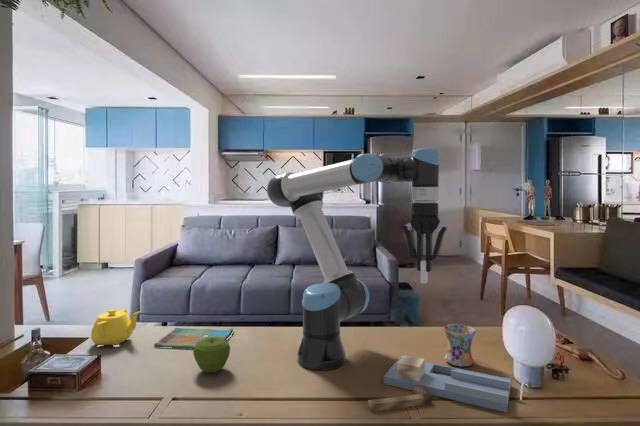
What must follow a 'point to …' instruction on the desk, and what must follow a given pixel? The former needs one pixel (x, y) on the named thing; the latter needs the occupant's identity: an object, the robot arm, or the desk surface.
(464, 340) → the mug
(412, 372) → the block
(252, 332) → the desk surface
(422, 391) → the crook tool
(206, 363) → the apple
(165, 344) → the colourful book
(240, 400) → the desk surface
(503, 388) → the board
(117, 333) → the teapot
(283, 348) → the desk surface
